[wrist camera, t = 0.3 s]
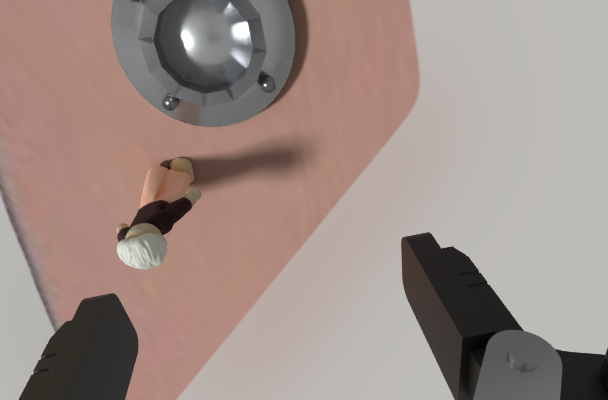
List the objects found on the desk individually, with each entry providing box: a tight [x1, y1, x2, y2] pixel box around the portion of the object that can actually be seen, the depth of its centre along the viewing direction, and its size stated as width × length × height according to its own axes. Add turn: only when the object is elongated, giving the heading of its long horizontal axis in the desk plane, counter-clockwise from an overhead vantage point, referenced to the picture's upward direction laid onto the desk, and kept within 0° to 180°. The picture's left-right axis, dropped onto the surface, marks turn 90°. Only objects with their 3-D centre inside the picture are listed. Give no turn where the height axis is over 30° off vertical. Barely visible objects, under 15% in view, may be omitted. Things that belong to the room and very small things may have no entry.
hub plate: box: [111, 0, 295, 127], centre depth 32 cm, size 14×14×3 cm
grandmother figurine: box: [117, 157, 201, 269], centre depth 33 cm, size 8×4×13 cm, turn 126°
